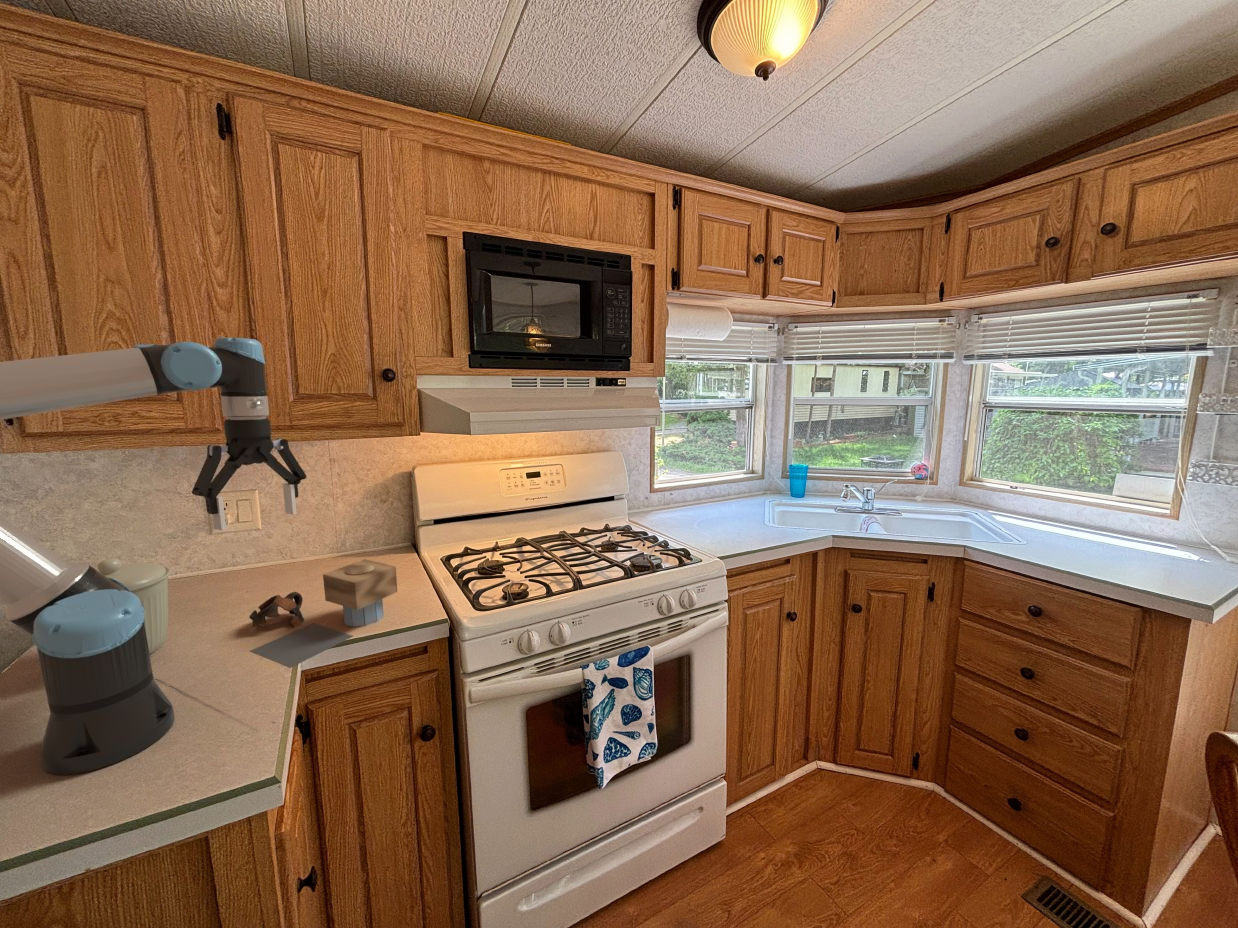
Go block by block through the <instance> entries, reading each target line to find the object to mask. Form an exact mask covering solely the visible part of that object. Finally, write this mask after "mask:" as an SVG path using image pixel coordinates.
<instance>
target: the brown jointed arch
mask: <svg viewBox="0 0 1238 928" xmlns="http://www.w3.org/2000/svg"><path fill="white" fill-rule="evenodd" d="M302 605H303V596H302V594H301V593H299V592H297V591H293V592H290V593H288V594H287V595H286V596H285V597H282V596H281V595H280V594H276V595H274V596H271V597H270V598H269V599H266V600H265V601H264V602H262V604H260V605H259V606H258V607H257V608H258V609H259V611H258V612H257V610H255V609H254V610H253V611H252V613H250V615H249V616H248V618H249V619H250V620H251V621H252V623H251V625H252V627H253V628H254V627H258V626H262V627H265V626H266V624H265V623H266V621H267V619H266V618H269V619H270V618H273V619H274V618H279V617H280V616H281V615H280V613H279V608H281V609H283V610H284V611H286V612H288V613H289V615H291V616H292V615H294V617H293V618H292V619H291V620H290V622H289V624H291V625H292V626H293V628H294V629H295V628H297V627H299V626H301V625H302V623H304V621H305V618H304V617H303V614H302V611H301V608H302Z"/></svg>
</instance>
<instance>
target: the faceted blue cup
mask: <svg viewBox="0 0 1238 928" xmlns="http://www.w3.org/2000/svg"><path fill="white" fill-rule="evenodd" d="M383 602H384V601H383V599H381V600H378V601H376V602H374V603H372V604H370V605H367V606H365V607H363V608H361V609H359V610H355V609H352V608H349V607H345V606H342V611H343V621H344V625H346V626H349V627H364V626H368V625H372V624H375V623H377V622H378V621H380V620H382V619H383V617H384V615H385V613H384V603H383Z"/></svg>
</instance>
